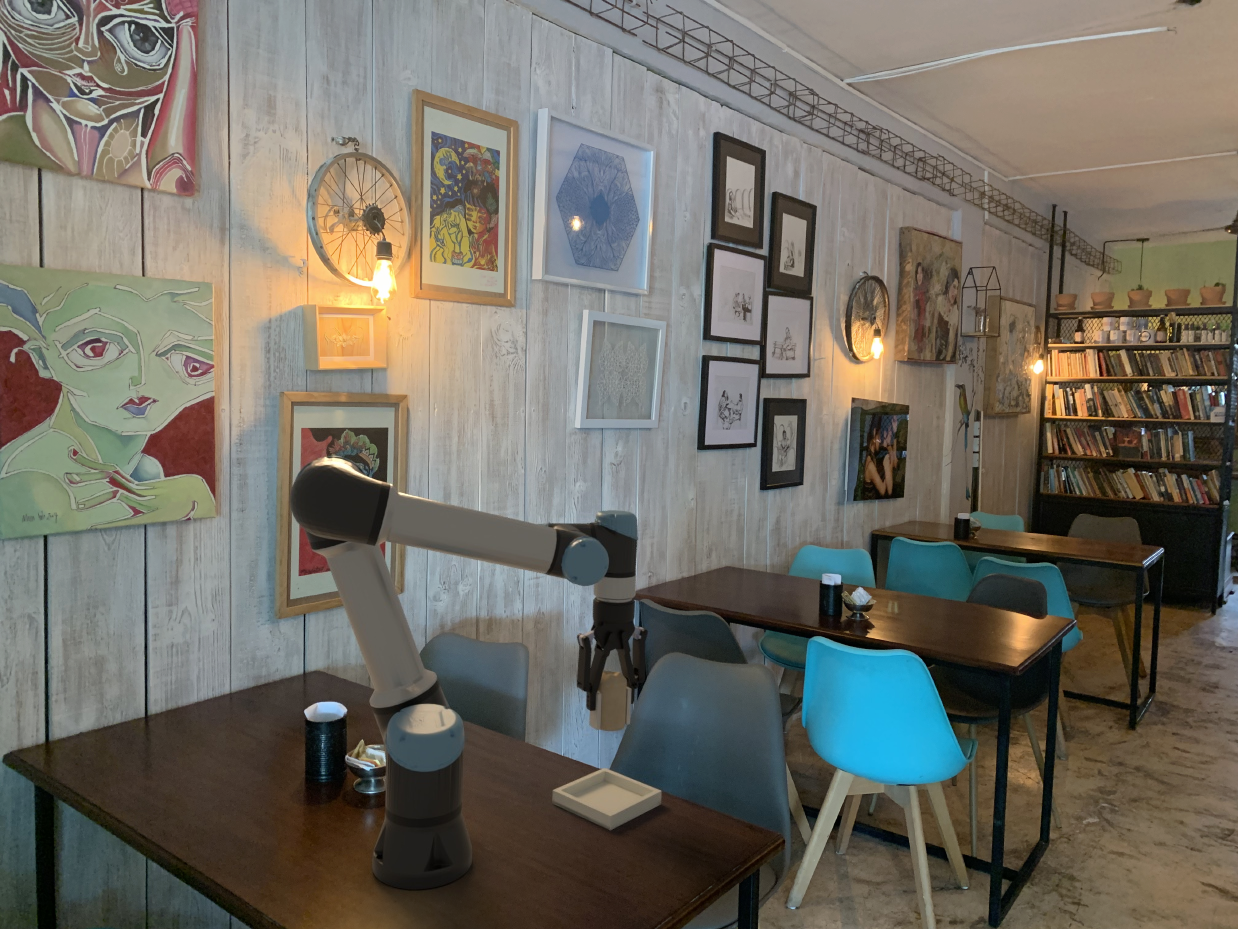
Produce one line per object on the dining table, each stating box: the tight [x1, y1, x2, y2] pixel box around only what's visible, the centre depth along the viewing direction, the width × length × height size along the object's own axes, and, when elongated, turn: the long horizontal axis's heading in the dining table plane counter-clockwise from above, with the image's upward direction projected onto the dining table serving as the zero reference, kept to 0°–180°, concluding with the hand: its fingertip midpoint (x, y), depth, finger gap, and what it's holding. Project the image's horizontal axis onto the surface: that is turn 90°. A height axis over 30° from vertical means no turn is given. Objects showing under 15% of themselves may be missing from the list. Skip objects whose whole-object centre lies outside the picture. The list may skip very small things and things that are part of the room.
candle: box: [598, 669, 627, 732], centre depth 158 cm, size 6×6×10 cm
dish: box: [551, 767, 663, 831], centre depth 160 cm, size 14×14×2 cm
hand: (609, 724), depth 159 cm, fingers closed on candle, 5 cm apart
